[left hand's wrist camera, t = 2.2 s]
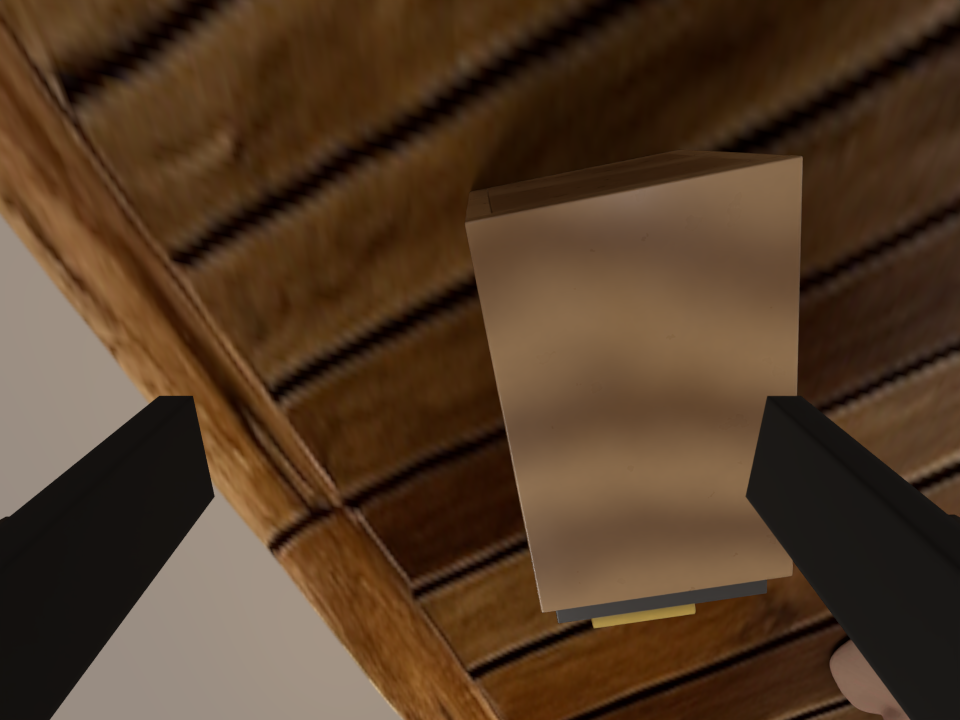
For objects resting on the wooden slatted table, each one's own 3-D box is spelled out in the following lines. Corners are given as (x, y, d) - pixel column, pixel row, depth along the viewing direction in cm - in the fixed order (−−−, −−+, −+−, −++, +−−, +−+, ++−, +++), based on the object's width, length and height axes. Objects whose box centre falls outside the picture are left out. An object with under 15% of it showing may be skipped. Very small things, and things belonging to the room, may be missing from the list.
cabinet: (696, 442, 33) (792, 576, 23) (522, 470, 34) (541, 613, 24) (680, 149, 27) (803, 155, 17) (469, 191, 28) (464, 222, 18)
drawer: (697, 552, 35) (767, 683, 27) (551, 574, 36) (574, 709, 27) (678, 215, 27) (768, 250, 19) (491, 251, 28) (498, 300, 20)
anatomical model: (833, 732, 37) (971, 621, 33) (800, 678, 41) (922, 573, 37) (968, 797, 39) (1109, 701, 36) (926, 741, 43) (1050, 648, 40)
